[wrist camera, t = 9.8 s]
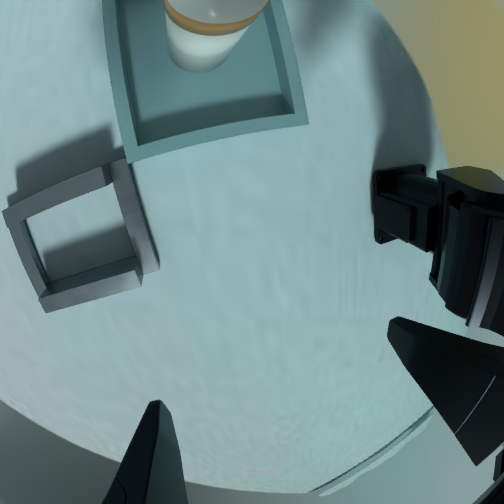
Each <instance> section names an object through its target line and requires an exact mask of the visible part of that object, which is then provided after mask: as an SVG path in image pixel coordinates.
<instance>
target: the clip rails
mask: <svg viewBox="0 0 504 504" xmlns="http://www.w3.org/2000/svg"><path fill="white" fill-rule="evenodd" d="M112 182H113V185H114V188H115V192H116V195H117V199H118V202H119V205H120V209H121V212H122V215H123V218H124V221H125V224H126V228H127V231H128V234H129V236H130V239H131V242H132V245H133V248H134V251H135V254H136V256H133V257H130V258H126V259H123V260H120V261H116V262H113V263H110V264H106V265H103V266H100V267H97V268H94V269H90V270H87V271H84V272H81V273H78V274H75V275H72V276H68V277H65V278H62V279H59V280H56V281H53V282H49V280H48V278H47V276H46V273H45V271H44V269H43V267H42V264H41V262H40V260H39V257H38V255H37V253H36V250H35V248H34V245H33V242H32V240H31V237H30V234H29V232H28V229H27V226H26V223H25V219H27V218H29V217H31V216H33V215H35V214H38V213H40V212H42V211H44V210H47V209H49V208H51V207H54V206H56V205H58V204H61V203H63V202H66V201H68V200H70V199H73V198H76V197H78V196H81V195H83V194H86V193H89V192H91V191H94V190H97V189H99V188H102V187H105V186H107V185H109V184H110V183H112ZM2 213H3V217H4V220H5V223H6V226H7V228H8V227H9V230H10V233H11V236H12V238H13V241H14V243H15V246H16V249H17V251H18V254H19V256H20V258H21V261H22V263H23V265H24V268H25V270H26V272H27V274H28V276H29V279H30V281H31V283H32V285H33V287H34V289H35V291H36V293H37V295H38V297H39V299H38V300H39V302H40V303H41V305H42V307H43V309H44V311H45V313H48V312H52V311H56V310H59V309H63V308H67V307H70V306H74V305H77V304H81V303H85V302H88V301H92V300H95V299H99V298H103V297H106V296H110V295H113V294H117V293H121V292H124V291H128V290H131V289H135V288H138V287H141V285H142V280H143V275H144V274H148V273H151V272H155V271H158V270H160V264H159V261H158V258H157V255H156V252H155V249H154V246H153V243H152V240H151V237H150V234H149V231H148V228H147V225H146V221H145V218H144V215H143V212H142V208H141V205H140V201H139V198H138V194H137V191H136V187H135V183H134V180H133V176H132V172H131V168H130V164H128V163H127V159H126V158H123V159H120V160H117V161H114V162H112V163H109V164H106V165H103V166H100V167H97V168H94V169H92V170H89V171H87V172H84V173H81V174H79V175H77V176H74V177H72V178H69V179H67V180H64V181H62V182H60V183H58V184H55V185H53V186H51V187H49V188H46V189H44V190H42V191H40V192H38V193H36V194H34V195H32V196H30V197H28V198H26V199H24V200H22V201H20V202H18V203H16V204H14V205H12V206H10V207H8V208H6V209H5V210H3V211H2Z"/></svg>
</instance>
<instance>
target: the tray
mask: <svg viewBox="0 0 504 504" xmlns="http://www.w3.org/2000/svg"><path fill="white" fill-rule="evenodd" d="M102 6H103V21H104V33H105V43H106V51H107V59H108V67H109V74H110V80H111V86H112V92H113V98H114V104H115V109H116V114H117V119H118V124H119V129H120V133H121V138H122V142H123V147H124V151H125V155H126V159H127V163H128V164H129V163H132V162H135V161H139V160H142V159H145V158H148V157H152V156H155V155H159V154H162V153H166V152H169V151H173V150H177V149H180V148H184V147H188V146H192V145H196V144H201V143H205V142H209V141H214V140H218V139H223V138H228V137H233V136H238V135H243V134H248V133H254V132H260V131H266V130H272V129H279V128H285V127H293V126H301V125H309V122H308V116H307V110H306V105H305V99H304V94H303V89H302V84H301V79H300V74H299V69H298V64H297V60H296V55H295V51H294V46H293V42H292V38H291V34H290V30H289V26H288V22H287V18H286V14H285V11H284V7H283V3H282V0H269V2H268V4H267V5H266V7H265V8H264V9H263V11H262V12H261V13H260V14H259V16H258V17H257V18H256V19H255V21H254V22H253V23H251V25H250V26H249V27H248V29H247V30H246V31H245V33H244V34H243V36H242V37H241V39H240V40H239V41H238V43H237V44H236V46H235V47H234V49H233V50H232V52H231V53H230V55H229V56H228V58H227V59H226V61H225V62H224V63H223V64H222V65H221V66H219V67H218V68H216V69H214V70H212V71H209V72H204V73H191V72H187V71H184V70H182V69H180V68H179V67H177V66H176V65H175V64H174V63H173V62H172V61H171V59H170V57H169V54H168V47H167V32H166V14H165V8H164V0H102Z"/></svg>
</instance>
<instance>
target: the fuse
mask: <svg viewBox="0 0 504 504" xmlns="http://www.w3.org/2000/svg"><path fill="white" fill-rule="evenodd" d="M268 2H269V0H164V8H165V14H166V32H167V47H168V54H169V57H170V59H171V61H172V62H173V63H174V64H175V65H176V66H177V67H179V68H180V69H182V70H184V71H187V72H191V73H204V72H209V71H212V70H214V69H216V68H218V67H219V66H221V65H222V64H223V63H224V62H225V61H226V59H227V58H228V56H229V55H230V53H231V52H232V50H233V49H234V47H235V46H236V44H237V43H238V41H239V40H240V39H241V37H242V36H243V34H244V33H245V31H246V30H247V29H248V27H249V26H250V25H251V23H253V22H254V21H255V19H256V18H257V17H258V16H259V14H260V13H261V12H262V11H263V9H264V8H265V7H266V5H267V4H268Z"/></svg>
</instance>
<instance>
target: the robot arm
mask: <svg viewBox="0 0 504 504" xmlns="http://www.w3.org/2000/svg"><path fill="white" fill-rule="evenodd" d="M379 174H380V178H378V176H379ZM437 179H438V180H437ZM437 179H434V178H430V177H426V167H425V165H423V164H415V165H408V166H401V167H395V168H388V169H382V170H377V171H375V172H374V174H373V183H374V204H375V241H376V242H377V243H379V244H383V243H386V242H389V241H392V240H395V239H400V240H402V241H404V242H406V243H410V244H412V245H414V246H415V247H417V248H419V249H421V250H423V251H424V252H430V253H432V254H433V261H432V268H431V272H430V275H429V280H430V282H431V283H432V284H433V286H434V287H435V288H436V290H437V291H438V293H439V295H440V296H441V297H442V299H443V300H444V302H446V303H445V307H446V308H447V309H448V310H449V311H451V312H452V313H453V314H455V315H457V316H459V317H461V318H463V319H466V323H465V325H466V326H468V327H481V328H485V329H489V330H491V331H493V332H496V333H498V334H500V335H502V336H504V181H503V180H502V179H501V178H500V177H499V176H497V175H496V174H495V173H493V172H492V171H491V170H487V169H482V168H477V167H471V166H463V167H457V168H450V169H444V170H438V171H437ZM380 238H381V239H380ZM387 337H388V340H389V342H390V343H391V345H392V347H393V348H394V350H395V352H396V353H397V355H398V357H399V358H400V360H401V361H402V363H403V365H404V366H405V368H406V369H407V370H408V372H409V373H410V374H411V376H412V377H413V378H414V380H415V381H416V382H417V384H418V385H419V386H420V388H421V389H422V390H423V392H424V393H425V394H426V396H427V397H428V398H429V400H430V401H431V402H432V404H433V405H434V407H435V408H436V409H437V411H438V412H439V413H440V415H441V416H442V417H443V419H444V420H445V422H446V423H447V425H448V426H449V427H450V429H451V430H452V432H453V433H454V434H455V436H456V438H457V439H458V441H459V442H460V444H461V445H462V447H463V448H464V450H465V451H466V453H467V454H468V456H469V457H470V459H471V460H472V462H473V463H474V465H475V466H478V465H479V464H480V463H481V462H482V461H483V460H485V459H486V458H487V457H488V456H489V455H490V454H491V453H493V452H494V451H495V450H496V449H497V448H498V447H499V446H500V445H502V446H503V447H504V347H500V346H496V345H491V344H487V343H483V342H480V341H476V340H473V339H472V340H471V339H469V338H466V337H463V336H460V335H457V334H453V333H450V332H447V331H444V330H441V329H437V328H434V327H431V326H428V325H425V324H422V323H418V322H415V321H412V320H409V319H406V318H403V317H399V316H398V317H395V318H393V319H391V320H390V321H389V326H388V332H387ZM115 476H116V477H114V480H113V482H112V484H111V486H110V488H109V490H108V492H107V494H106V496H105V498H104V500H103V502H102V503H101V504H188V499H187V494H186V488H185V482H184V475H183V468H182V461H181V455H180V449H179V445H178V441H177V437H176V433H175V429H174V425H173V420H172V416H171V413H170V411H169V410H168V409H167V407H166V406H165V404H164V403H163V402H162V401H161V400H155V401H151V402H150V403H149V404H148V406H147V408H146V410H145V412H144V415H143V417H142V419H141V421H140V423H139V425H138V427H137V429H136V432H135V434H134V436H133V438H132V440H131V442H130V444H129V447H128V449H127V451H126V453H125V455H124V457H123V460H122V462H121V464H120V466H119V468H118V471H117V473H116V475H115ZM493 480H494V481H495V482H494V483H493V484H492V485H491V486H490V487H489V488H488V489H487V490H486V491H485V492H484V493H483V494H482V495H481V496H480V497H479V498H478V499H477V500H476V501H475V502H474V503H473V504H504V448H503V449H502V450H501V451H500V452H499V454H498V455H497V456H496V461H495V470H494V476H493Z"/></svg>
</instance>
